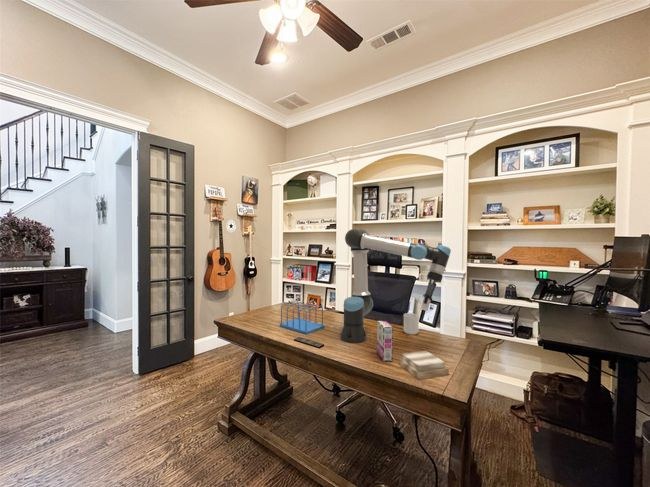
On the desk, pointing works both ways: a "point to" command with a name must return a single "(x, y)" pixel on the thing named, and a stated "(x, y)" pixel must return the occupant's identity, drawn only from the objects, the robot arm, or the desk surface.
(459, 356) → the desk surface
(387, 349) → the candy bar box
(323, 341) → the desk surface
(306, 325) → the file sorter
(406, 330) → the mug
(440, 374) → the plinth
